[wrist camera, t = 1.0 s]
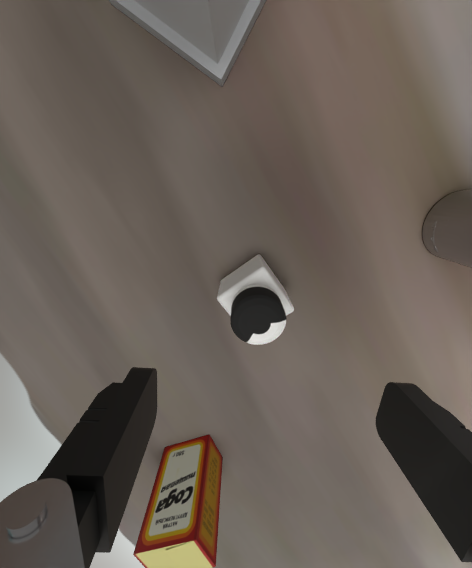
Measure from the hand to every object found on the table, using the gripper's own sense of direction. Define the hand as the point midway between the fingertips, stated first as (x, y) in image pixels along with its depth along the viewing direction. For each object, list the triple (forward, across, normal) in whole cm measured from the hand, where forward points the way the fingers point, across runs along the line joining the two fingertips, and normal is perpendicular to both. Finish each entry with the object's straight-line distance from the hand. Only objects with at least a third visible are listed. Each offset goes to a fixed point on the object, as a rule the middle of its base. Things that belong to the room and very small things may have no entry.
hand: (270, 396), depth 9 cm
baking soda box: (+31, +5, +40) cm, 51 cm away
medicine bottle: (+29, -2, +5) cm, 30 cm away
